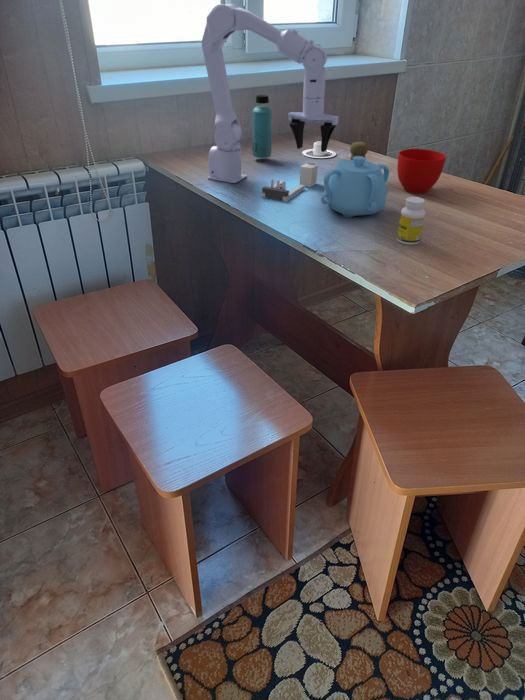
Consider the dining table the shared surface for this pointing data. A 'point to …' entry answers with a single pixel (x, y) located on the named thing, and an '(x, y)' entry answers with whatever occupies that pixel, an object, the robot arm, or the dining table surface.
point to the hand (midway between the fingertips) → (311, 149)
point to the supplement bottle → (411, 221)
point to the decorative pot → (356, 187)
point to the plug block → (308, 174)
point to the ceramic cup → (419, 169)
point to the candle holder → (318, 151)
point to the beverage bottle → (262, 128)
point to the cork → (358, 149)
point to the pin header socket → (279, 191)
